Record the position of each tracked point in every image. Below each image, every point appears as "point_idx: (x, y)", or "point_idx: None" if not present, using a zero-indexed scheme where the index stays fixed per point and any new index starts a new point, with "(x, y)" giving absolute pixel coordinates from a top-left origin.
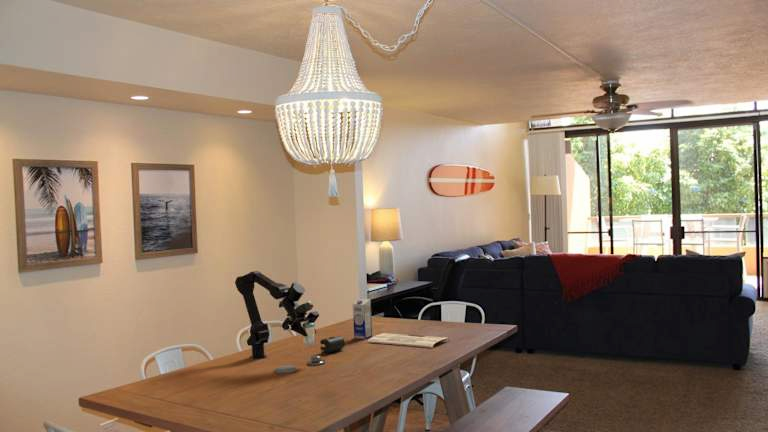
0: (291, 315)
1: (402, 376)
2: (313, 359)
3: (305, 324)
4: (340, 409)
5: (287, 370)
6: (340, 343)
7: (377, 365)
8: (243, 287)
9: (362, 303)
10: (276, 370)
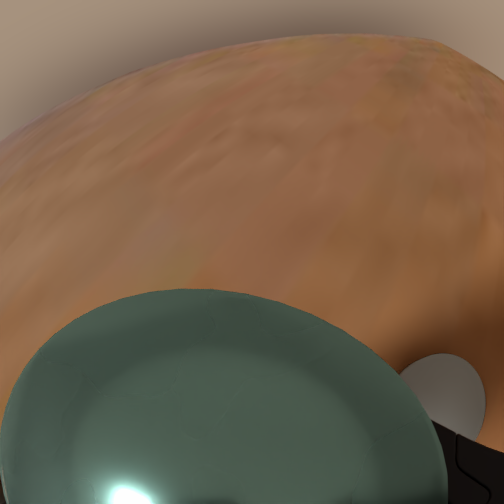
0: None
1: (180, 73)
2: None
3: (400, 468)
4: (405, 45)
5: (452, 361)
6: None
7: (100, 175)
8: None
9: None
10: (485, 402)
